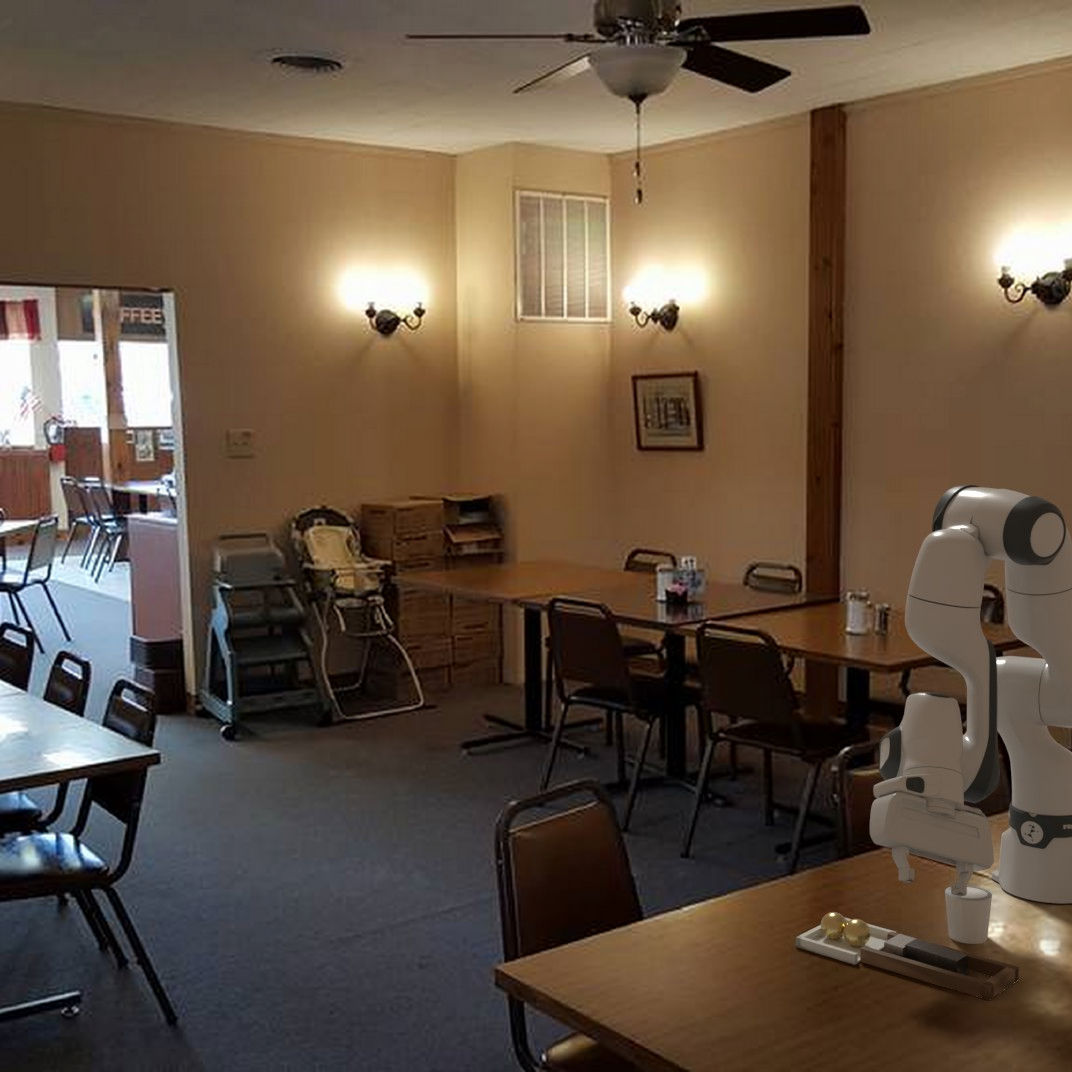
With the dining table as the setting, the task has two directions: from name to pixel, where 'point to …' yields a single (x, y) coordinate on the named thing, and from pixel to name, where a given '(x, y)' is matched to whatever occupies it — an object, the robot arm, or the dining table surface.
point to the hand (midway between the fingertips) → (932, 888)
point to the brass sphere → (856, 932)
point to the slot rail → (987, 989)
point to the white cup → (968, 915)
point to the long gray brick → (927, 953)
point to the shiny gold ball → (833, 925)
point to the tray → (840, 943)
